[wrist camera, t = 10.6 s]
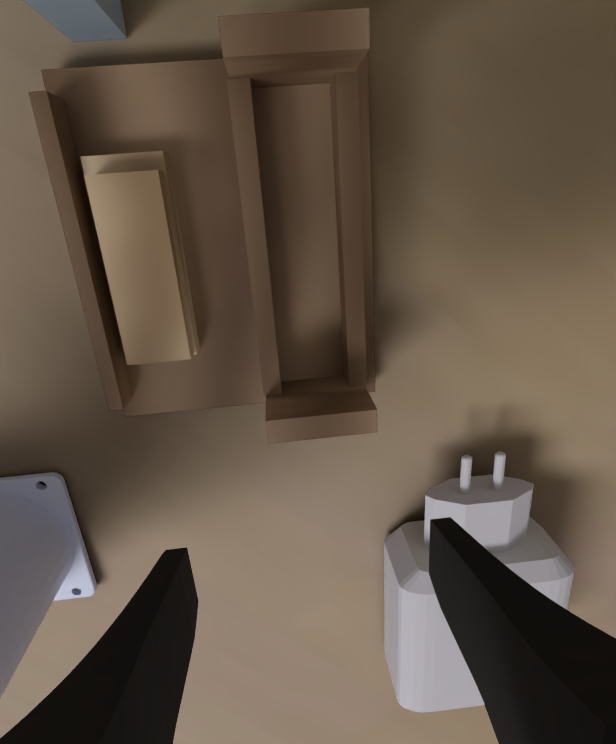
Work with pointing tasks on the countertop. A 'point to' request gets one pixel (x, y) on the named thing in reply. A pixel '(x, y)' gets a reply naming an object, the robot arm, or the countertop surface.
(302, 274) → the tray
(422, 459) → the countertop surface
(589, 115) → the countertop surface
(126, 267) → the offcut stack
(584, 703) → the robot arm
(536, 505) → the countertop surface
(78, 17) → the board
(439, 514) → the charger
